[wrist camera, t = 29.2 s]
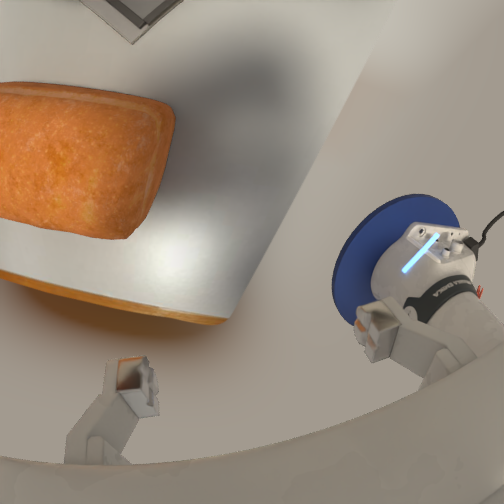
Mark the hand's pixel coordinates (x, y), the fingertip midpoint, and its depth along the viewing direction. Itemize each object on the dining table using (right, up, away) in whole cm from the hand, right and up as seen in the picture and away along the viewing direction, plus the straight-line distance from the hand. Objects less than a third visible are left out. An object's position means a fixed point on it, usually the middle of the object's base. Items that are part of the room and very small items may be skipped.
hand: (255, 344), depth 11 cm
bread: (-23, +18, +22) cm, 36 cm away
